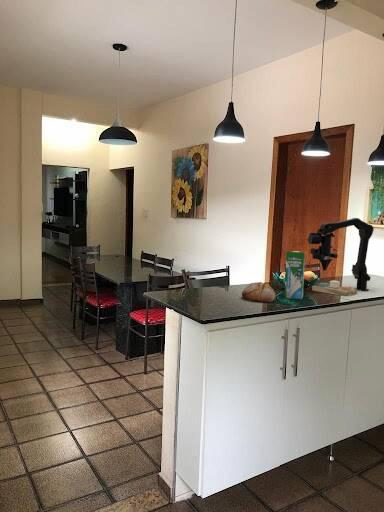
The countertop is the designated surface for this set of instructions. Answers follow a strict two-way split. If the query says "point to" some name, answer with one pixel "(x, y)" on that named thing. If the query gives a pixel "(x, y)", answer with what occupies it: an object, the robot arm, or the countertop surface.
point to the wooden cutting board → (334, 290)
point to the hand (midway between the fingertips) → (324, 270)
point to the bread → (259, 292)
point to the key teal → (324, 284)
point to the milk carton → (294, 275)
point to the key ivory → (335, 284)
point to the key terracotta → (345, 288)
